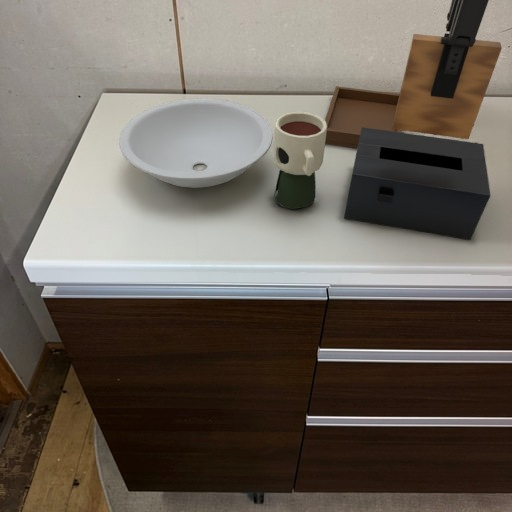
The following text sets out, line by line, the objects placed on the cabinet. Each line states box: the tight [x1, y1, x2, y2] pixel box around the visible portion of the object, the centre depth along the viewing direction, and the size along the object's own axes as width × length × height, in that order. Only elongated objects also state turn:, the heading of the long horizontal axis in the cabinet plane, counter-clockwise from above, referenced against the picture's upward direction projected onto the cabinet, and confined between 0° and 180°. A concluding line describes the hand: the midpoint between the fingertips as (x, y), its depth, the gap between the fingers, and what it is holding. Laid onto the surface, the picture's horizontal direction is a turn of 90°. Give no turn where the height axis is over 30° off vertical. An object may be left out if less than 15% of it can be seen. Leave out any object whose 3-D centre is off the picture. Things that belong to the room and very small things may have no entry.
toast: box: [392, 33, 503, 140], centre depth 60 cm, size 10×2×12 cm, turn 75°
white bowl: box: [118, 97, 274, 189], centre depth 77 cm, size 24×24×7 cm
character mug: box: [273, 111, 327, 210], centre depth 69 cm, size 11×7×13 cm, turn 12°
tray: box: [324, 85, 403, 149], centre depth 89 cm, size 18×14×3 cm
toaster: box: [343, 127, 492, 241], centre depth 70 cm, size 18×14×8 cm
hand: (441, 91), depth 60 cm, fingers closed on toast, 2 cm apart
